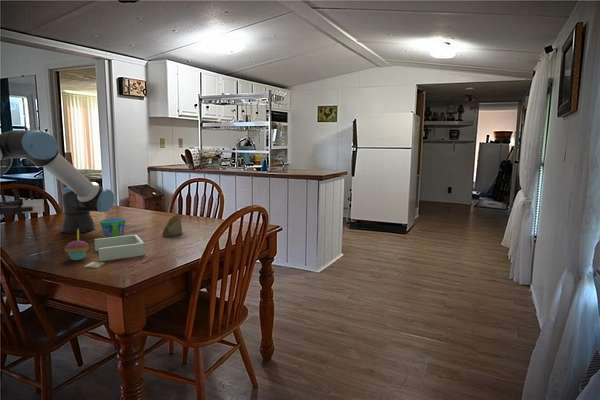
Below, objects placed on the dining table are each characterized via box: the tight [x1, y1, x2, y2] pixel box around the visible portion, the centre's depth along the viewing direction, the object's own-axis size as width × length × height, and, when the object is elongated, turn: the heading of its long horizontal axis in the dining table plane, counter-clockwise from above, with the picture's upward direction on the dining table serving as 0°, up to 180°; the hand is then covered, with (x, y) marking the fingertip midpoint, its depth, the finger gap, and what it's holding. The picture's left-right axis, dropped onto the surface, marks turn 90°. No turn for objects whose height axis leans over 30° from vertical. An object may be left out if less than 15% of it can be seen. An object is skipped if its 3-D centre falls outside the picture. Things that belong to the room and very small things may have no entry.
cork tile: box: [83, 261, 106, 269], centre depth 148 cm, size 5×5×1 cm
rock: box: [161, 214, 183, 237], centre depth 197 cm, size 11×9×10 cm
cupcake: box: [64, 230, 90, 261], centre depth 156 cm, size 9×8×12 cm
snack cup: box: [99, 217, 127, 238], centre depth 182 cm, size 16×11×10 cm
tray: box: [93, 234, 146, 262], centre depth 165 cm, size 17×17×5 cm
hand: (43, 205), depth 149 cm, fingers open, 13 cm apart
